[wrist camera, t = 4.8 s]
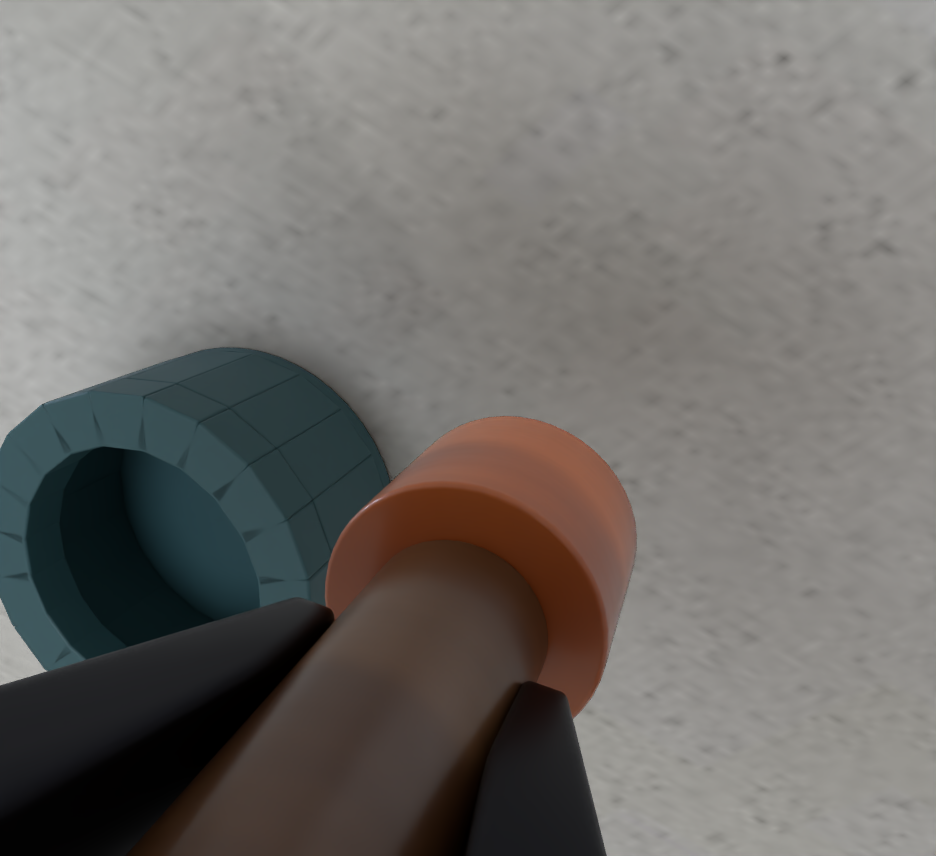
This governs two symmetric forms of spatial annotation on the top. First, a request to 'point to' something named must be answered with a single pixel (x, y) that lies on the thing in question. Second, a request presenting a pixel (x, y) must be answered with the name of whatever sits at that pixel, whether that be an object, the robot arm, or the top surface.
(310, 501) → the teal hollow cylinder
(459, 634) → the brown peg with discs
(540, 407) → the top surface
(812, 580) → the top surface
